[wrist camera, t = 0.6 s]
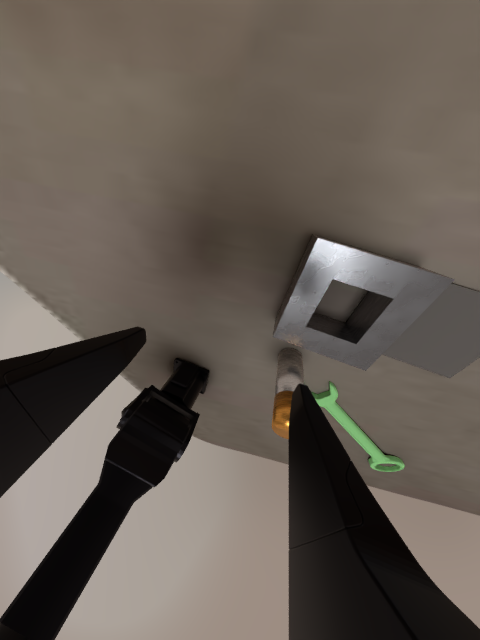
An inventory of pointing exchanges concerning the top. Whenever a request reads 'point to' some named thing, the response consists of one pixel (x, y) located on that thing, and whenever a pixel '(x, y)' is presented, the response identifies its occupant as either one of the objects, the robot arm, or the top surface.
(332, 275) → the block
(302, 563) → the robot arm
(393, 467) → the wrench
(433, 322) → the rubber mat
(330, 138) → the top surface
